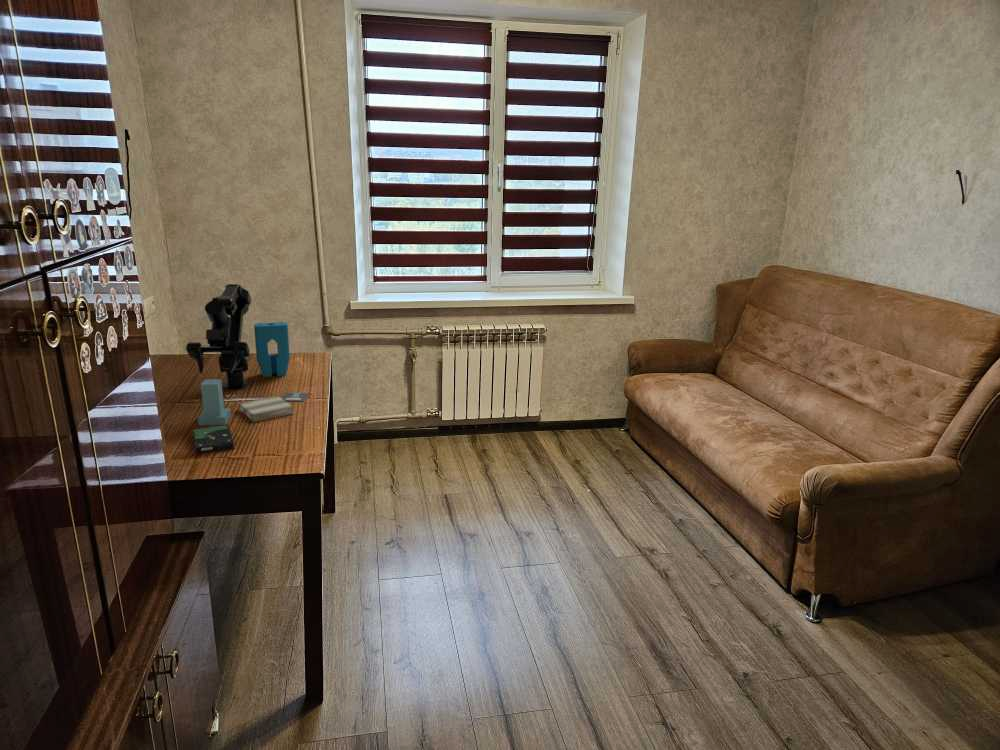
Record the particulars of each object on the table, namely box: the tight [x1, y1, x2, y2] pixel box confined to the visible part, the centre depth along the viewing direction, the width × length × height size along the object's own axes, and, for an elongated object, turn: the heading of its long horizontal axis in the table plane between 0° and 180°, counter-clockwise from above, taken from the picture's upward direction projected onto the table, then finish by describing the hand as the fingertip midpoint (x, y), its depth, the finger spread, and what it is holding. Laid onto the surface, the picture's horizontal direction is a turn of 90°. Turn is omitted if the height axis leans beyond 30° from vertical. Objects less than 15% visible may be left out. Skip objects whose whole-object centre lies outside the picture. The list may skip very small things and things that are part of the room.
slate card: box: [281, 392, 310, 403], centre depth 234 cm, size 8×8×1 cm
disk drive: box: [192, 423, 235, 455], centre depth 196 cm, size 10×3×15 cm
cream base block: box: [239, 395, 294, 423], centre depth 220 cm, size 13×13×3 cm
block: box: [253, 321, 291, 378], centre depth 255 cm, size 12×5×20 cm, turn 109°
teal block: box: [197, 378, 232, 426], centre depth 210 cm, size 8×8×13 cm
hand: (216, 372), depth 215 cm, fingers open, 9 cm apart
